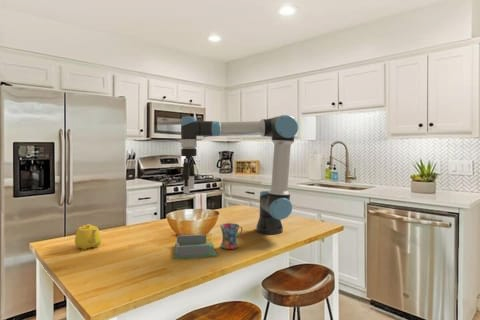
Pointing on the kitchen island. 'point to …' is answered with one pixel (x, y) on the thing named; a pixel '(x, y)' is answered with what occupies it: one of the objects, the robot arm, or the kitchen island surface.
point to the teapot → (88, 237)
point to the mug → (230, 235)
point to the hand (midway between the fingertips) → (189, 190)
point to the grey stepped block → (193, 247)
